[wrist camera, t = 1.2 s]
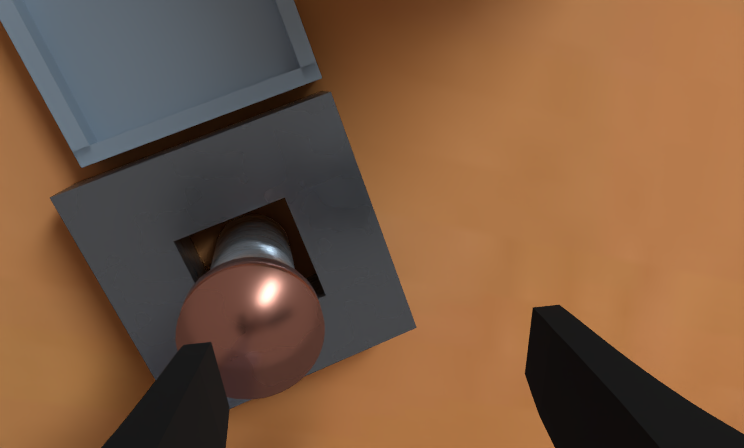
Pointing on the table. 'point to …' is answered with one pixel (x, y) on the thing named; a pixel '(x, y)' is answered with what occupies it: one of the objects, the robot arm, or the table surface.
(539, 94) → the table surface
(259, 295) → the pin
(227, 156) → the hitch block
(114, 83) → the tray
